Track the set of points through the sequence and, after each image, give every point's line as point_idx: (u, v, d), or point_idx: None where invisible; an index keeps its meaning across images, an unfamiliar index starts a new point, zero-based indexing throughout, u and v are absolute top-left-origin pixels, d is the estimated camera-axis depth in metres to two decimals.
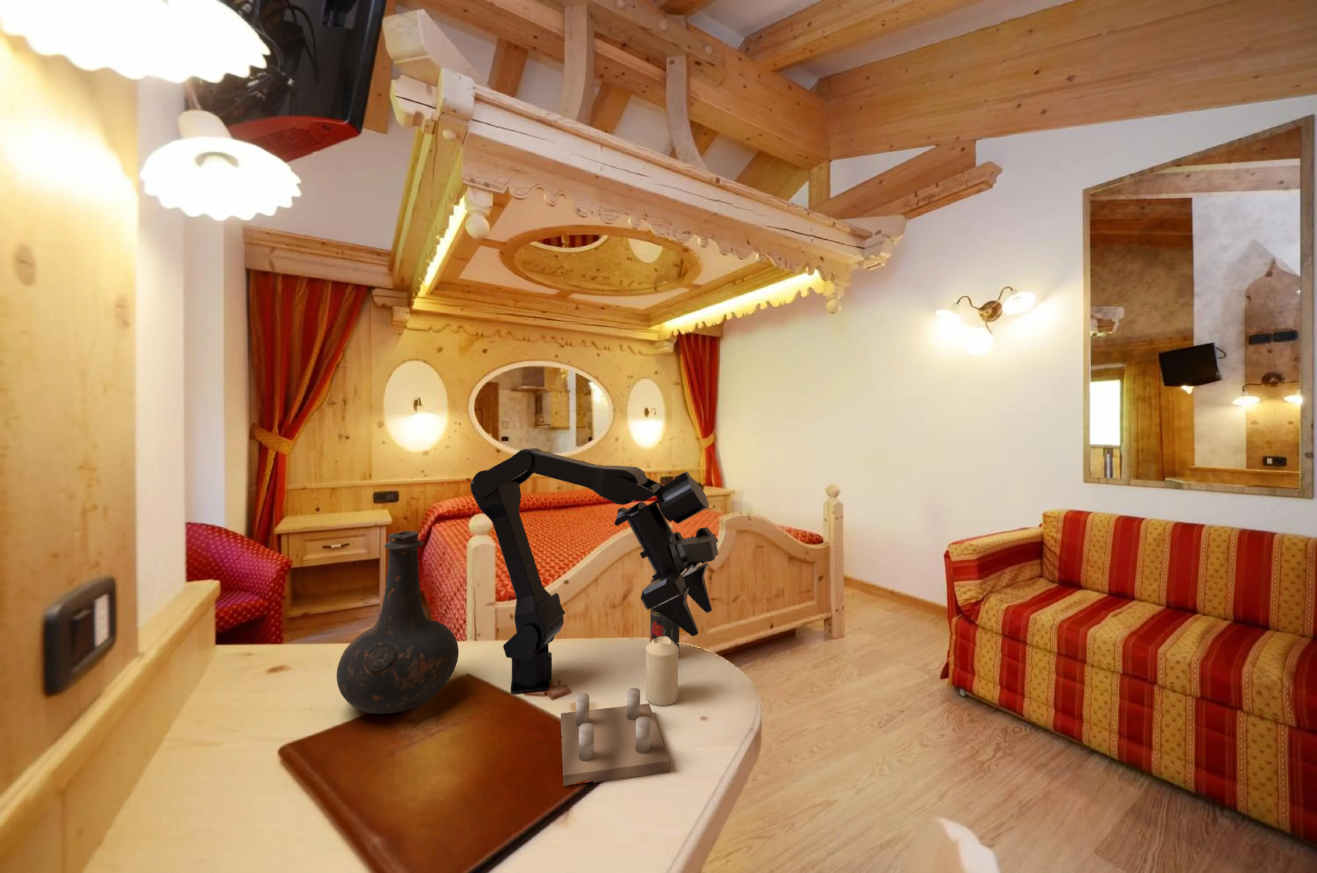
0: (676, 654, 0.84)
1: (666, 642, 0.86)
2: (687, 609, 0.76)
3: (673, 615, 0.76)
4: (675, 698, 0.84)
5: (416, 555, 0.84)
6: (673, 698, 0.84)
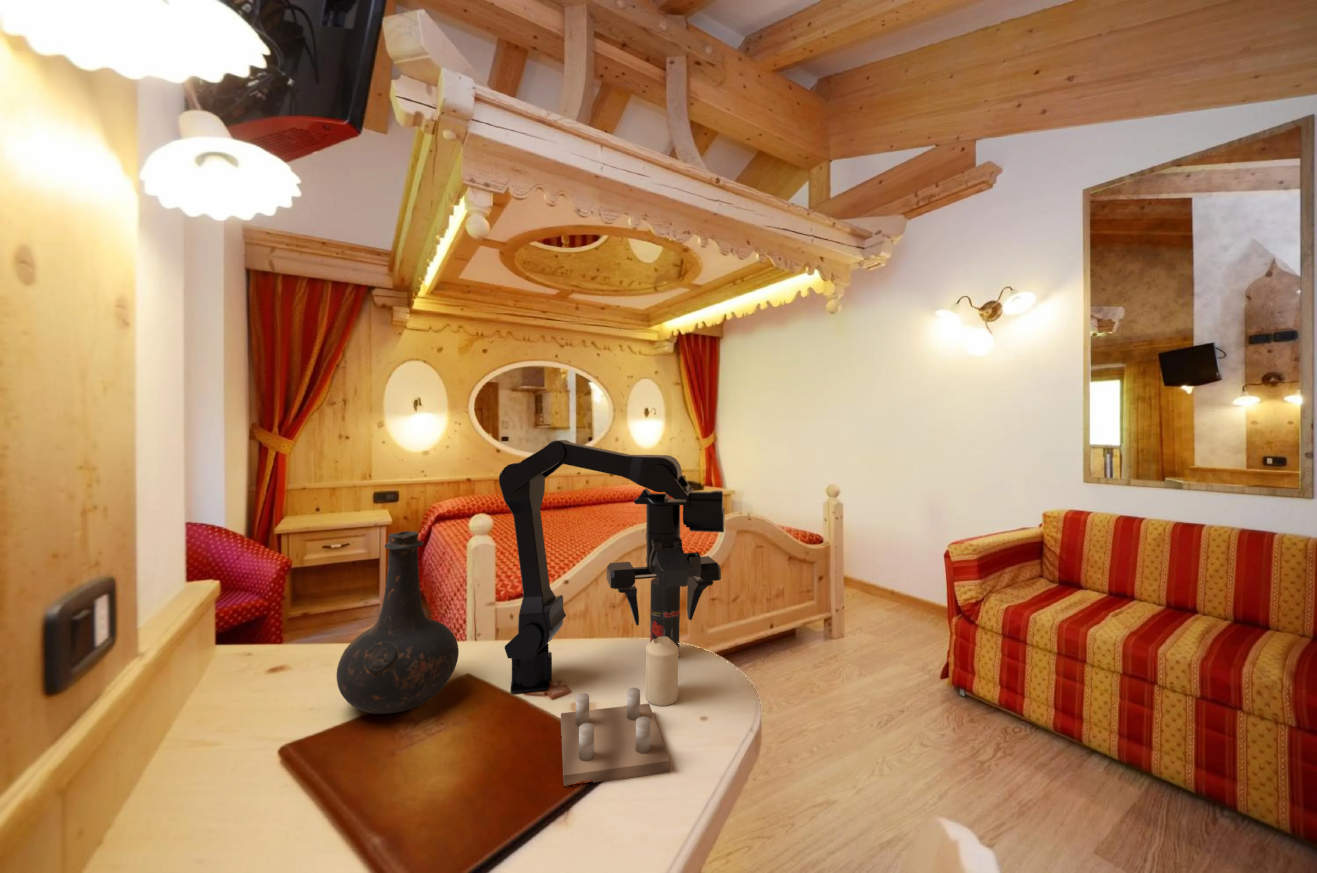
0: (676, 654, 0.84)
1: (666, 642, 0.86)
2: (632, 603, 0.83)
3: None
4: (675, 698, 0.84)
5: (416, 555, 0.84)
6: (673, 698, 0.84)
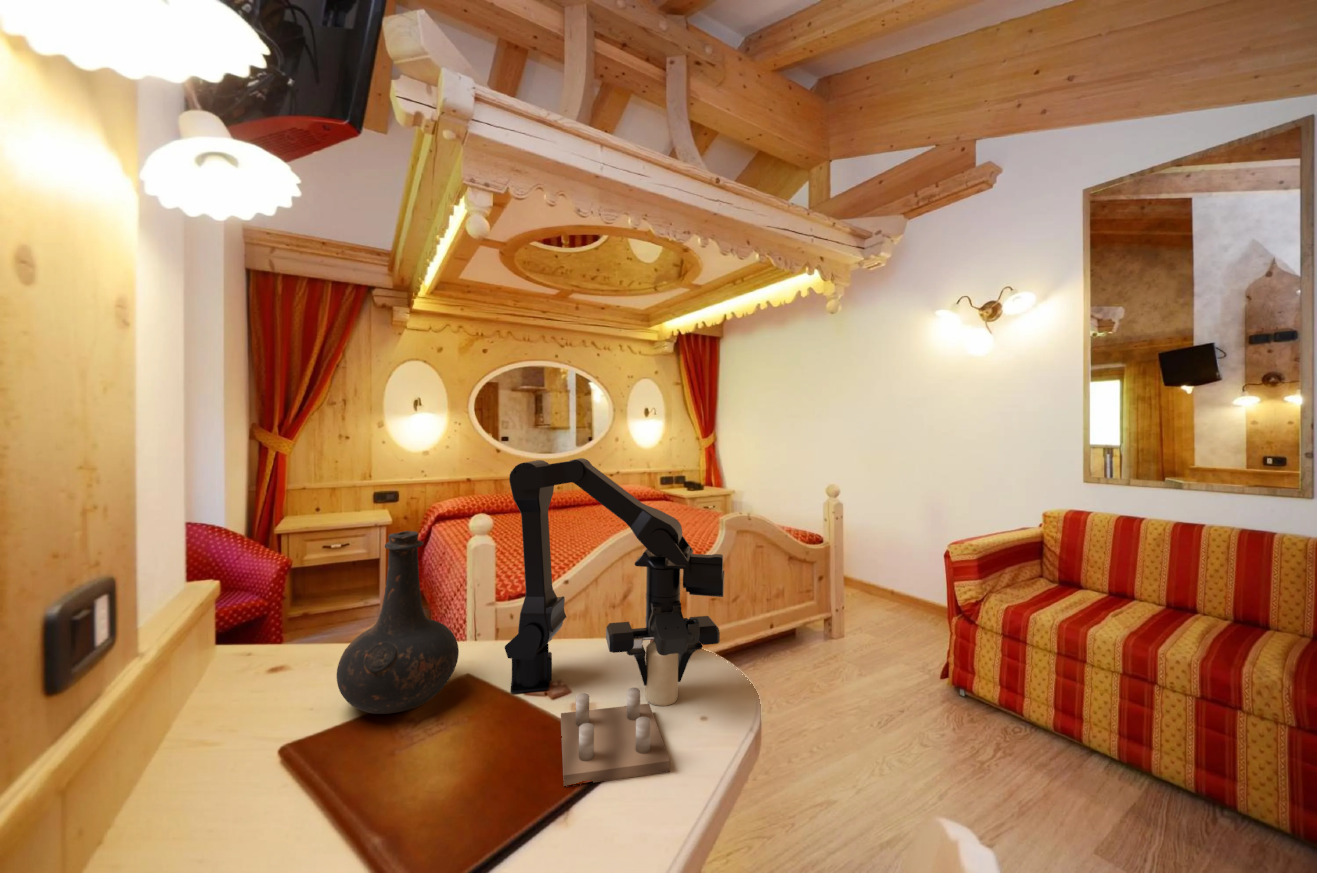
0: (676, 654, 0.84)
1: None
2: (640, 664, 0.84)
3: None
4: (675, 698, 0.84)
5: (416, 555, 0.84)
6: (673, 698, 0.84)
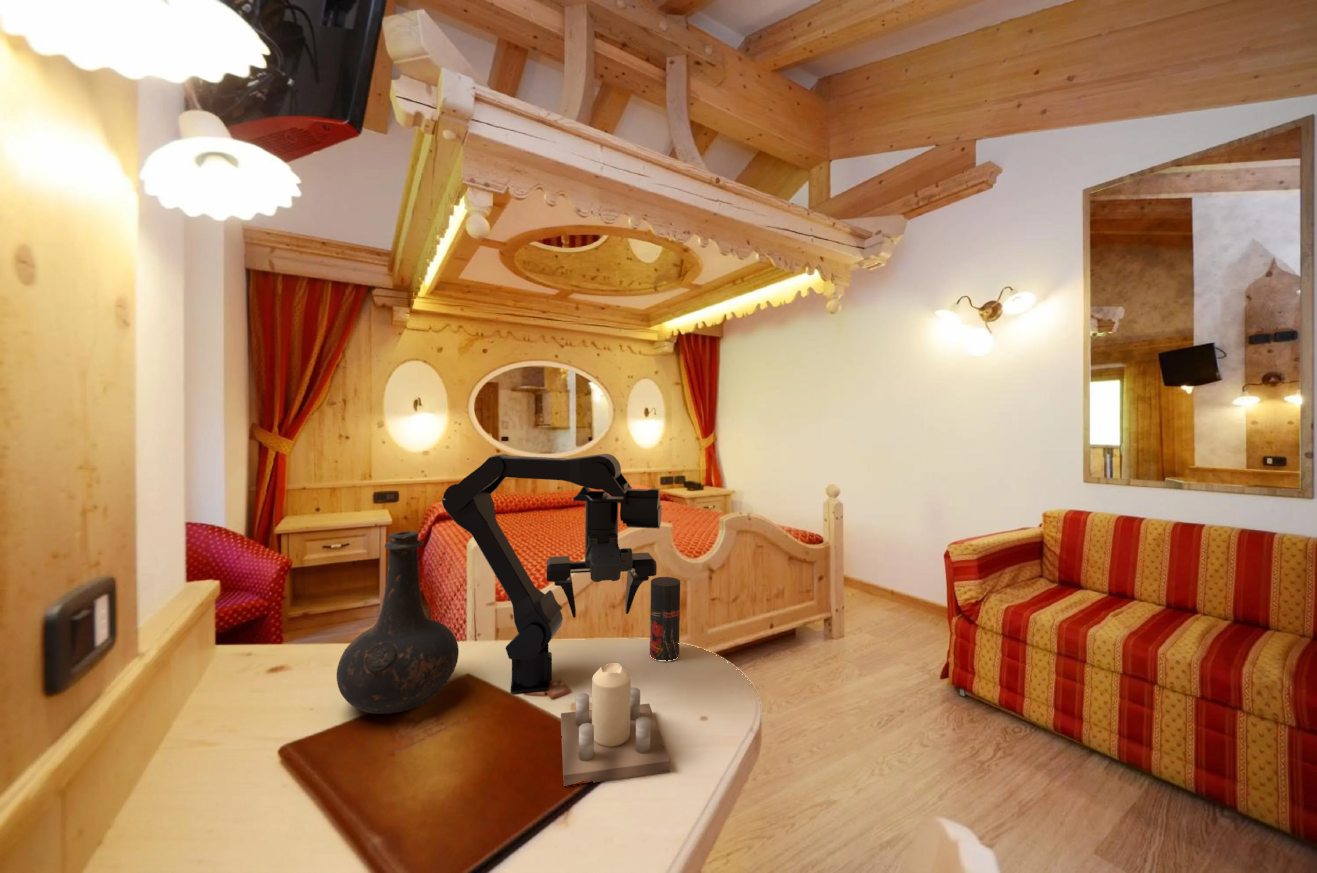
0: (627, 685, 0.71)
1: (616, 670, 0.73)
2: (568, 596, 0.86)
3: None
4: (626, 737, 0.71)
5: (416, 555, 0.84)
6: (623, 737, 0.71)
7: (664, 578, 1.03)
